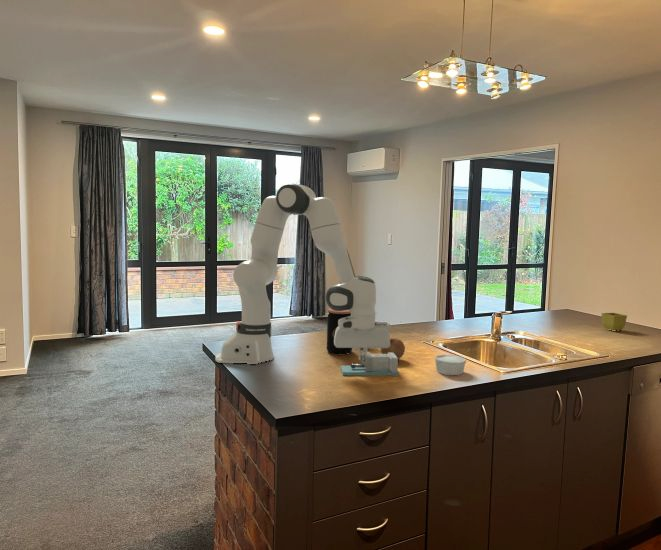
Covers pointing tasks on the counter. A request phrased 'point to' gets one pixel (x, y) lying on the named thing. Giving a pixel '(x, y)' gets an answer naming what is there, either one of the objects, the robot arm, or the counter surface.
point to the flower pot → (613, 321)
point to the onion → (395, 348)
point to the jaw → (365, 362)
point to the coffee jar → (331, 328)
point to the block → (381, 361)
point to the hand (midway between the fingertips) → (361, 359)
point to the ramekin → (450, 364)
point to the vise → (360, 371)
